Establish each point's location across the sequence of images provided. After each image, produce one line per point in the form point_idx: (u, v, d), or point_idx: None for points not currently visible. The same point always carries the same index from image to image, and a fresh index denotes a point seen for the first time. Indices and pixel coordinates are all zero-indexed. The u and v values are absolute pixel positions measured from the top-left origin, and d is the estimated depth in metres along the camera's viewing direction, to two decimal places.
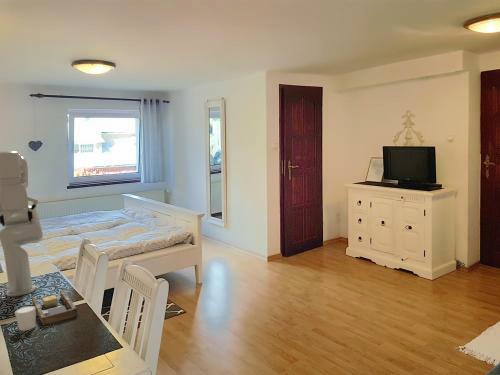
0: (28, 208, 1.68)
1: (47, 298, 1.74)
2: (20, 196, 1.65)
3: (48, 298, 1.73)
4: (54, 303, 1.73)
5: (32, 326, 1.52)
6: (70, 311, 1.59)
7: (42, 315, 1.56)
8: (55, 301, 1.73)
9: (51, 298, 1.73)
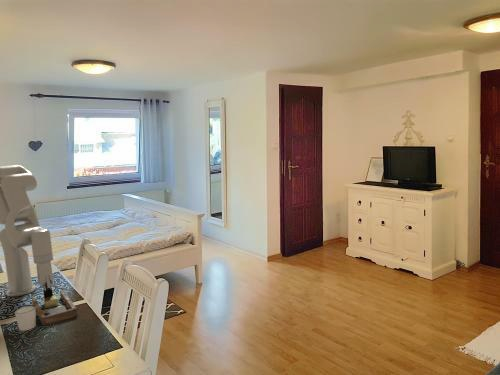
0: None
1: (48, 298, 1.73)
2: None
3: (48, 298, 1.73)
4: (55, 303, 1.72)
5: (32, 326, 1.52)
6: (70, 311, 1.59)
7: (42, 315, 1.56)
8: (55, 301, 1.72)
9: (51, 298, 1.73)
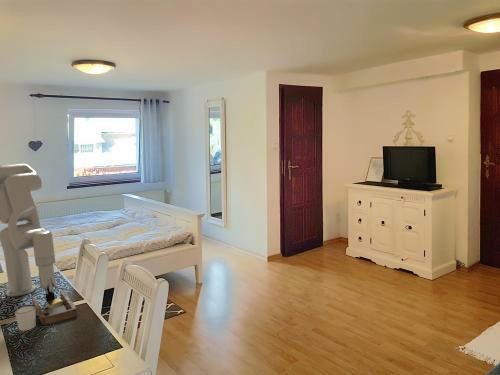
0: None
1: (52, 301, 1.69)
2: None
3: (53, 301, 1.69)
4: (60, 306, 1.69)
5: (32, 326, 1.52)
6: (70, 311, 1.59)
7: (42, 315, 1.56)
8: (61, 304, 1.69)
9: (56, 301, 1.69)
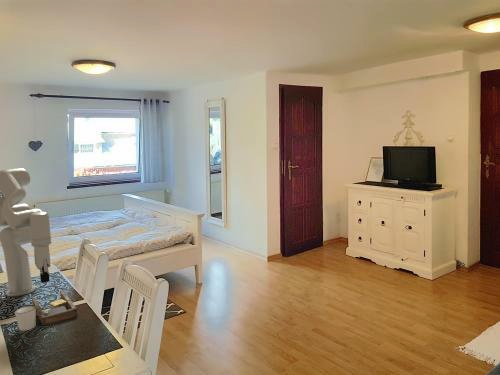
0: None
1: (56, 302, 1.68)
2: None
3: (57, 302, 1.68)
4: None
5: (32, 326, 1.52)
6: (70, 311, 1.59)
7: (42, 315, 1.56)
8: (65, 305, 1.68)
9: (60, 302, 1.68)
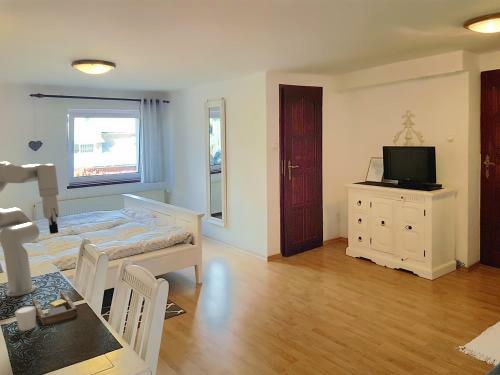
0: None
1: (55, 303, 1.68)
2: None
3: (57, 302, 1.68)
4: None
5: (32, 326, 1.52)
6: (70, 311, 1.59)
7: (42, 315, 1.56)
8: (65, 305, 1.68)
9: (60, 302, 1.68)
